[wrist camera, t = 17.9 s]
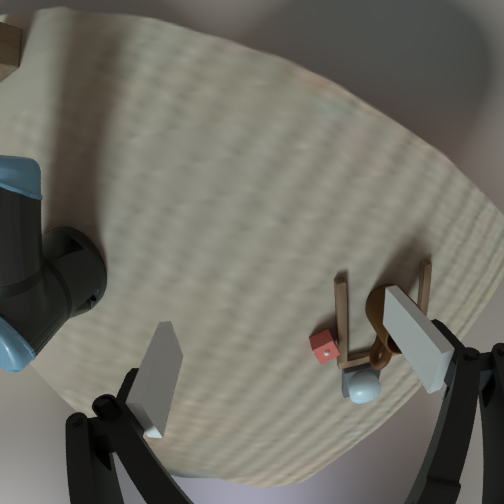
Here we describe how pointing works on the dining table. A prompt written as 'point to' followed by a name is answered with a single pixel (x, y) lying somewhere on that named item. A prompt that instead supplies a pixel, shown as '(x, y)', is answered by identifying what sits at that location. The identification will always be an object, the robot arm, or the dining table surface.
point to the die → (324, 346)
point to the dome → (363, 387)
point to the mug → (381, 328)
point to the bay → (341, 316)
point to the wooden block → (9, 49)
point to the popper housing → (351, 371)
